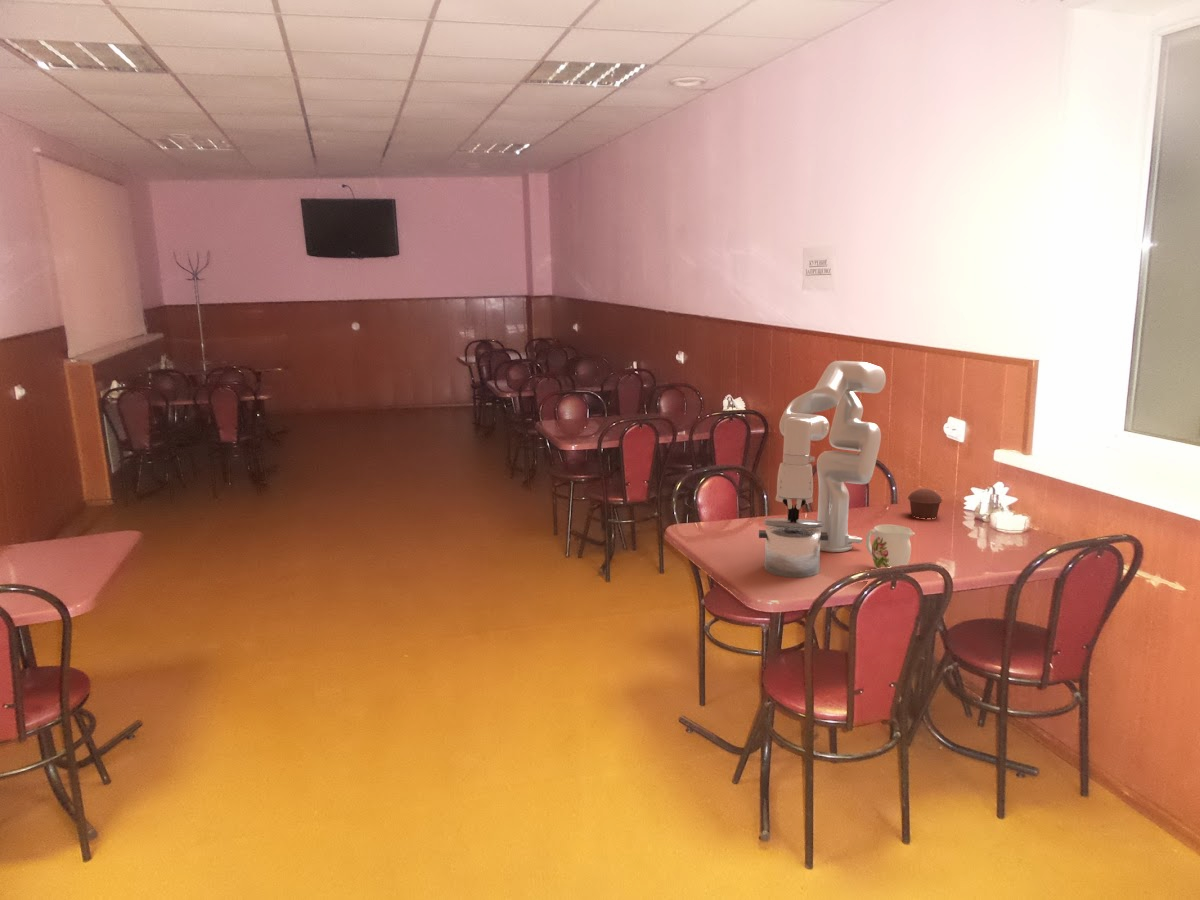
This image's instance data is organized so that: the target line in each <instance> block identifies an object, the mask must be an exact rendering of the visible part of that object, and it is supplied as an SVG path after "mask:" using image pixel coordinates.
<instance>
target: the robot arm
mask: <svg viewBox="0 0 1200 900" xmlns="http://www.w3.org/2000/svg"><path fill="white" fill-rule="evenodd" d="M886 383H887V378H886V373H885V370H884V369H883V368H882V367H881V366H878V365H876V364H872V363H869V362H865V361H851V360H834V361H832V362H831V363H829V364H828V365H827V367H826V368H825V369H824V371H823V373H822V375H821V377H820V378H819V380H818V381H817V383H816V385H815V386H814V388H813V389H810V390H808V391H807V392H804V393H803V394H800V395H799V396H797V397H795V398H794V399H792V401H790V402H789V404H788V405H787V407H786V408H785V409H784V411H783V414H782V416H781V418H780V420H779V426H778V427H779V431H780V433H781V435H782V436H783V450H782V451H783V453H782V462H780V463H779V466H778V467H779V468H778V471H777V482H776V496H775V501H776V502H778V503H779V502H780V503H783V504H784V506H786V507H787V508H788V510H787V512H788V513H787V518H788V519H790V522H793V521H794V523H796V519H800V509H801V508H802V507H803V506H804V505H806V504H812V503H813V502H814V498H813V494H814V477H813V475H814V474H813V466H812V464H811V462H815V460H816V457H815V456H812V455H811V442H812V441H818V442H819V441H822V440H824V438H826V437H827V436H828V434H829V437H828V443H829V444H830V446H831V447H833V448H835V449H839V450H826V451H822V452H821V453H820V454H819V456H818V457H817V461H816V472H817V480H818V501H817V521H822V522H823V527H819V528H818V529H819V530H820V531H821V532H826V533H827V534H828V541H826V540H820V551H822V552H826V553H827V552H828V553H842V552H843V553H844V552H849V551H850V550H852V547H853V546H852V544H863V537H858V536H857V535H850V534H849V533H848V530H849V529H848V527H849V508H850V507H849V505H850V494H849V493H850V492H849V490H848V488H847V487H846V484H845V483H847V484H848V483H849V484H853V485H854V484H856V485H866V484H868V483H870V481H871V480H872V477H873V475H874V472H875V467H876V463H877V458H878V455H879V452H880V446H881V442H882V441H881V440H882V433H881V429H880V427H879V426H878V424H876V423H874V422H868V421H862V417H863V413H864V407H863V403H862V402H861V401H860V399H859V398H858V396H857V395H856V393H868V394H879V393H881V392H882V391H883V389H884V388H885V386H886ZM834 408H835V410H834V411H835V412H834V415H833V418H832V419H833V420H832V422H831V427H830V423H829V420H828V419H827V418H826V417H825V416H823V415H819V414H816V413H820V412H824V411H827V410H831V409H834ZM814 413H815V414H814ZM840 450H845V451H840ZM849 451H854V452H849ZM857 452H860V453H857ZM792 500H796V502H795V505H794V504H793V503H792V502H793V501H792ZM793 505H794V506H793Z"/></svg>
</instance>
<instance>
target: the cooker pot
mask: <svg viewBox="0 0 1200 900" xmlns="http://www.w3.org/2000/svg"><path fill="white" fill-rule="evenodd" d="M758 538H759V539H764V540H765V544H764V545H765V546H764V547H765V548H764V550H765V551H764V570H765V571H766V572H767V573H770V574H772V575H775V576H779V577H783V578H794V579H803V578H804V579H805V578H811V577H813V576H816V575H818V574H819V572H820V559H821V550H820V540H826V541H828V534H827V533H826V532H821V531H820V530H819V529H818V528H789V527H776V526H769V525H767V527H765V529H759V530H758Z"/></svg>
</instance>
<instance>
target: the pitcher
mask: <svg viewBox="0 0 1200 900" xmlns="http://www.w3.org/2000/svg"><path fill="white" fill-rule="evenodd" d="M915 534H916V533H915V532H914V531H912V529H911V528H910V527H907V526H903V525H898V524H887V523H886V524H879V525H875V526H874V528H873V529H870V530H868V532H867V533H866V536H865V547H866V550H867V552H868V553H869V555H870V556H871V557H872V561H873V565H874V566H875V569H877V568H881V567H890V566H899V565H907V564H908V565H909V563H910V560H911V556H912V555H911V553H912V545H911V541H910V537H912V536H914V535H915ZM872 535H874V538H873V541H872V544H871V538H872ZM908 565H907V566H908Z"/></svg>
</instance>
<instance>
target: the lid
mask: <svg viewBox="0 0 1200 900" xmlns="http://www.w3.org/2000/svg"><path fill="white" fill-rule="evenodd" d="M763 521H764V522H763V523H764V525H766V526H776V527H789V528H819V527H823V522H822V521H818V519H817V520H815V519H808V518H806V519H805V518H799V519H796V523H794V521H793V522H790V519H788V517H787V518H785V517H780V518H778V517H777V518H774V517H772V518H765V519H764V520H763Z"/></svg>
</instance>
